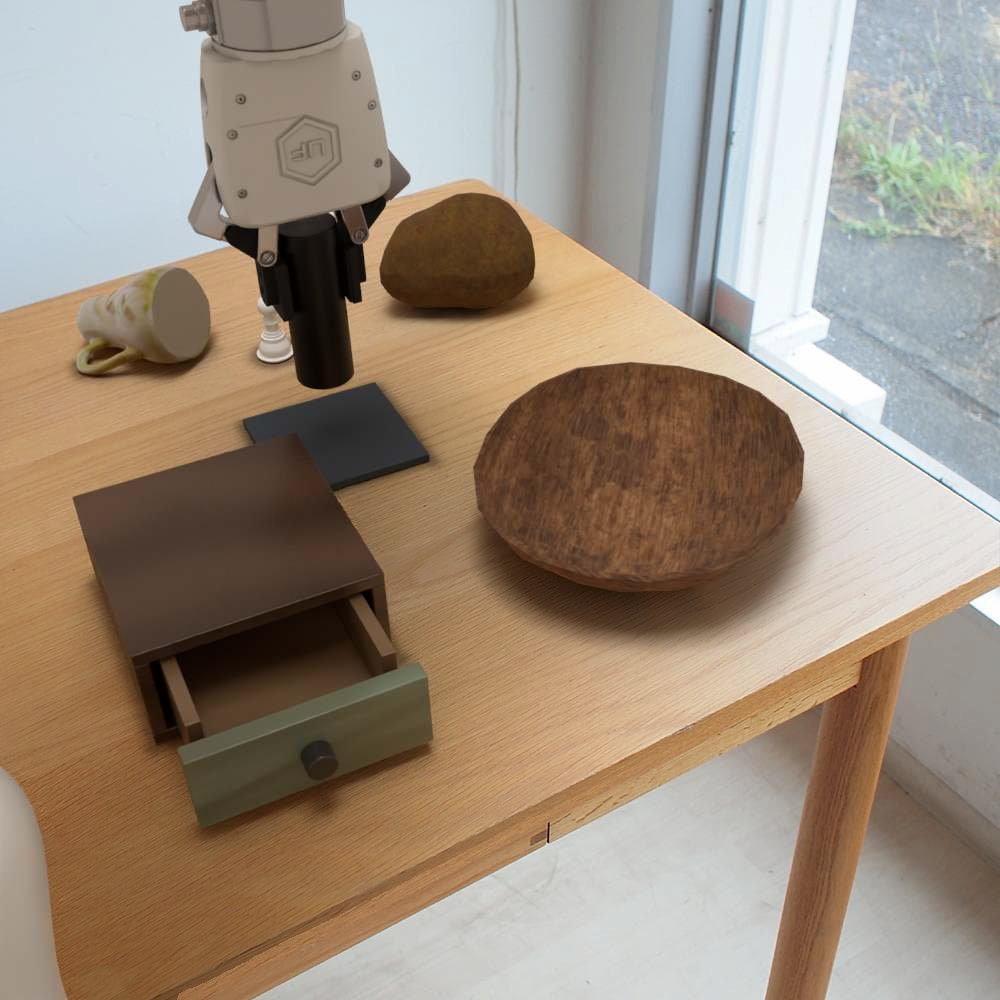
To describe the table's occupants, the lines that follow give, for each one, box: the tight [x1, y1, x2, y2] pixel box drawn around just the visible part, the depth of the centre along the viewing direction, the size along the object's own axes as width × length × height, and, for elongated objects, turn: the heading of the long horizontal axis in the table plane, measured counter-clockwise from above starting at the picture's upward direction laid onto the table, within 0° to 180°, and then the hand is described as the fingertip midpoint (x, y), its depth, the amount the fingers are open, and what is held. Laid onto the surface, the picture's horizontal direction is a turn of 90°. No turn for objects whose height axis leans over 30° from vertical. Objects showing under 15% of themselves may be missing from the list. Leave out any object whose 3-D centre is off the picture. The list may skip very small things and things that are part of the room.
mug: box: [75, 266, 212, 376], centre depth 99 cm, size 8×10×10 cm
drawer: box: [153, 592, 435, 829], centre depth 69 cm, size 15×12×5 cm
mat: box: [242, 381, 430, 492], centre depth 91 cm, size 10×10×1 cm
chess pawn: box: [256, 296, 293, 364], centre depth 99 cm, size 3×3×5 cm
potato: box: [378, 192, 536, 310], centre depth 103 cm, size 8×12×9 cm
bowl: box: [472, 361, 806, 593], centre depth 82 cm, size 20×22×5 cm
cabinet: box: [71, 432, 393, 745], centre depth 75 cm, size 15×14×7 cm
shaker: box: [278, 212, 355, 391], centre depth 84 cm, size 4×4×11 cm
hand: (315, 300), depth 84 cm, fingers closed on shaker, 3 cm apart
